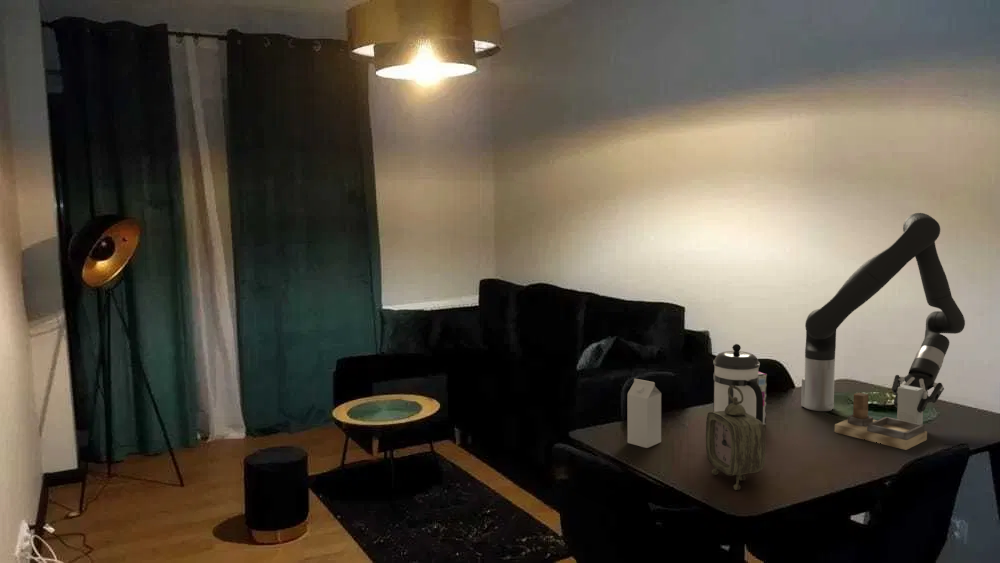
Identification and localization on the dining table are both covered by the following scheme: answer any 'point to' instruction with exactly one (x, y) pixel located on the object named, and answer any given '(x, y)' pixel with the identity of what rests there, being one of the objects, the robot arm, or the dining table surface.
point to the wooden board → (880, 427)
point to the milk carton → (644, 414)
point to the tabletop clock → (735, 441)
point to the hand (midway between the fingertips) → (907, 408)
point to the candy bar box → (763, 392)
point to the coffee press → (738, 381)
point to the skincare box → (909, 404)
